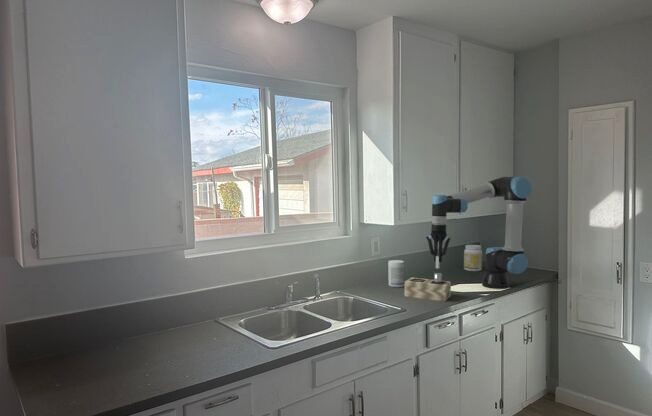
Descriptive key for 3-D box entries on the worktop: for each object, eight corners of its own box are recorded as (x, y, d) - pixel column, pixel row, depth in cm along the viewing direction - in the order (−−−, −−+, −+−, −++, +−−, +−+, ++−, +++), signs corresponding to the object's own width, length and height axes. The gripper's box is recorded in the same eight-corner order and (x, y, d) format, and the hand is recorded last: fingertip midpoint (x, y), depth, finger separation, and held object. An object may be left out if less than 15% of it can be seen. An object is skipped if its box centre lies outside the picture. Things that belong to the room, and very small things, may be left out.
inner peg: (442, 286, 249) (442, 273, 249) (440, 288, 246) (440, 274, 245) (435, 285, 251) (435, 272, 251) (433, 287, 248) (433, 273, 247)
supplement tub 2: (470, 267, 332) (471, 244, 331) (485, 270, 322) (486, 246, 321) (459, 269, 325) (460, 245, 324) (474, 272, 315) (475, 247, 314)
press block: (450, 296, 252) (450, 281, 251) (445, 301, 241) (445, 285, 240) (411, 291, 262) (411, 277, 261) (404, 296, 251) (404, 281, 251)
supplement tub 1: (407, 286, 274) (408, 261, 273) (395, 288, 269) (396, 263, 268) (396, 283, 282) (397, 259, 281) (384, 285, 277) (385, 260, 276)
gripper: (424, 223, 246) (423, 267, 247) (449, 225, 240) (448, 270, 241) (428, 222, 253) (427, 265, 254) (452, 224, 246) (451, 268, 248)
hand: (437, 268), depth 248 cm, fingers closed
